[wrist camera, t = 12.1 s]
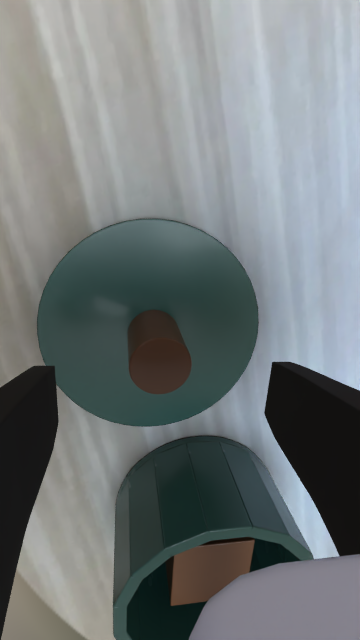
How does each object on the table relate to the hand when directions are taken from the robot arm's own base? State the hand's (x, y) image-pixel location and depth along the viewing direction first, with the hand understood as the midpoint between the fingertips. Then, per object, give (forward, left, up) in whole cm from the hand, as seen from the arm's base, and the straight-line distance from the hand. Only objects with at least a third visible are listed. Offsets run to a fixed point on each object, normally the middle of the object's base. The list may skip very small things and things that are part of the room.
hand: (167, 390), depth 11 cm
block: (+3, -12, -6) cm, 13 cm away
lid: (0, 0, -6) cm, 6 cm away
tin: (+3, -12, -6) cm, 13 cm away
